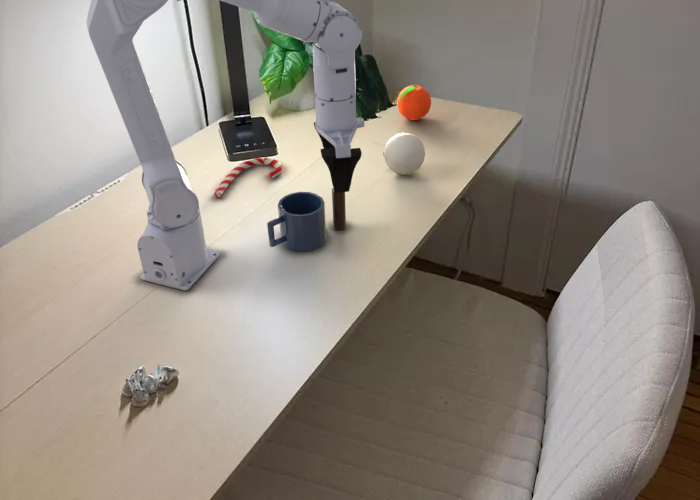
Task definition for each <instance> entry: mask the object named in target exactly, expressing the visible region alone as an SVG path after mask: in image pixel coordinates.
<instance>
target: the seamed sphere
mask: <svg viewBox="0 0 700 500" xmlns="http://www.w3.org/2000/svg"><path fill="white" fill-rule="evenodd" d="M373 144H374V145H376V142H375V143H373ZM377 146H381V144H380V143H377ZM382 146H384V149H383V158H384V162H385V164H386V166H387V167H388V168H389V169H390V171H392V172H393V173H396V174H399V175H411V174H413V173H415V172H416V171H418V170H419V169H420V168H421V166H423V164H424V161H425V159H426V148H425V145H424V144H423V142H422V139H420V138H419V137H418V136H417V135H416V134H414V133H409V132H401V133H396V134H395V135H393V136H392V137H391V138H389V139H388V141H387V142H386V144H382Z"/></svg>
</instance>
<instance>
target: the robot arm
mask: <svg viewBox="0 0 700 500" xmlns="http://www.w3.org/2000/svg"><path fill="white" fill-rule="evenodd" d="M181 1H182V0H175V2H181ZM219 1H221V2H223V3H226V4H228V5H232V6H234V7H238V8H241V9H245V10H248V11H250V12H253V13H255V15H256V17H257V19H258V22H259V24H260V25H261V26H262V27H264V28H266V29H269V30H273V31H275V32H278V33H280V34H283V35H286V36H288V37H291V38H294V39H296V40H300V41H302V42H305V43H312V58H313V61H312V65H313V66H312V70H313V85H314V87H313V88H314V106H315V121H314V122H313V126H314V129H315V131H316V133H317V134H318V136H319V139H320V141H321V145H322V147H323V148H320V154H321V158H322V160H323V161H324V163H325V164H326V166H327V168H328V171H329V174H330V180H331V184H332V188H334V191H335V193H340V192H345V193H348V192H349V191H350V189H351V185H352V180H353V176H354V172H355V169H356V167H357V164H358V163H359V161H360V160H361V158H362V155H363V154H362V149H361V147H353V148H352V146H351V145H352V141H353V139H354V137H355V134H356V133H357V132H356V131H357V130H358V129H360V128H365V119H364V118H363V117H357V101H356V100H357V99H356V98H357V96H356V89H357V88H356V57H355V56H356V53H355V52H356V50H357V49H358V47H359V45H360V43H361V41H362V37H363V30H361V29H360V24H359V22H358V19H357V18H356V17H355V16H354V14H352V13H351V12H350V11H348V10H347V9H345V8H344V7H343V6H341V5H340V4H339V3H337V2H335V1H333V0H219ZM168 2H169V0H90V4H89V7H88V12H87V17H86V28H87V32H88V36H89V39H90V41H91V43H92V46H93V48H94V51H95V54H96V56H97V58H98V61H99V64H100V66H101V69H102V71H103V73H104V76H105V79H106V81H107V83H108V86H109V88H110V91H111V94H112V96H113V99H114V100H115V103H116V106H117V109H118V111H119V113H120V116H121V118H122V121H123V123H124V126H125V129H126V131H127V134H128V136H129V139H130V142H131V144H132V146H133V148H134V151H135V153H136V156H137V158H138V161H139V164H140V167H141V169H142V173H141V184H142V186H143V188H144V190H145V193H146V197H147V200H148V203H149V206H148V210H147V211H146V217H147V222H146V223H147V224H146V226H145V230H144V232H143V233H142V235H141V236H140V237H139V238H138V239H137V245H136V246H137V251H138V255H139V259H140V263H141V267H142V271H143V272H142V273H141V275H140V279H141V280H142V281H146V282H150V283H154V284H157V285H162V286H166V287H170V288H173V289H178V290H182V291H189V289H191V287H192V286H193V285H194V284H195V283H196V282H197V281H198V280H199V279H200V277H201V276H202V275H204V273H205V272H206V271H207V270H208V269H209V268H210V267H211V265H213V263H215V261H216V260H217V259H218V258H219V257H220V256H221V252H220V251H218V250H215V249H210V248H208V247H207V242H206V237H205V231H204V226H203V220H202V215H201V209H200V201H199V198H198V196H197V194H196V193H195V191H194V189H193V187H192V184H191V182H190V180H189V178H188V173H187V169H186V168H185V166H184V164H182V162H180V161H179V160H178V159H176V157H175V153H174V151H173V148H172V146H171V143H170V141H169V137H168V135H167V131H166V129H165V127H164V124H163V120H162V117H161V115H160V113H159V110H158V108H157V107H158V106H157V104H156V101H155V99H154V96H153V93H152V90H151V88H150V85H149V82H148V80H147V77H146V73H145V72H144V68H143V66H142V63H141V60H140V57H139V54H138V52H137V49H136V46H135V44H134V37H135V35H136V34H137V33H138V31H139V29H140V28H141V26H142V25H143V23H144V21H146V20H147V19H149V18H150V17H151V16H152V15H154V14H155V13H157V12H158V11H159V10H160V9H162V8H163V7H164V6H165V5H166V4H167V3H168Z"/></svg>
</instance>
